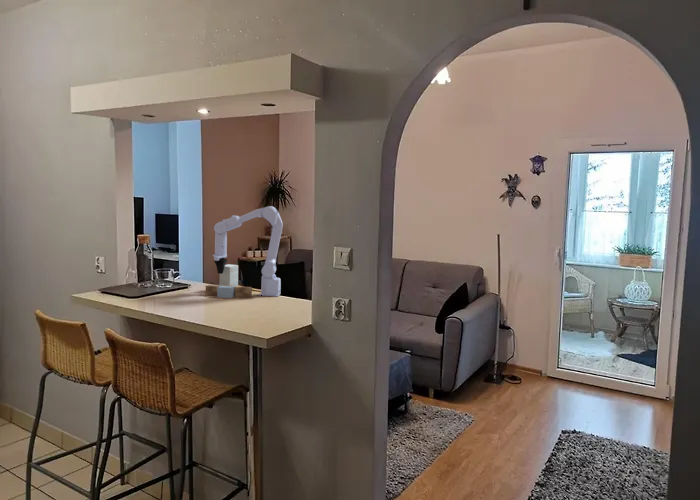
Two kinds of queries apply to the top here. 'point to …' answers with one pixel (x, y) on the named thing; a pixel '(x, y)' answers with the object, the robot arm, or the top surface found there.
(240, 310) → the top surface
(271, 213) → the robot arm
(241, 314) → the top surface
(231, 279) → the small box
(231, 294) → the cabinet block
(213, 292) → the beige wooden bar
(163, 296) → the top surface
